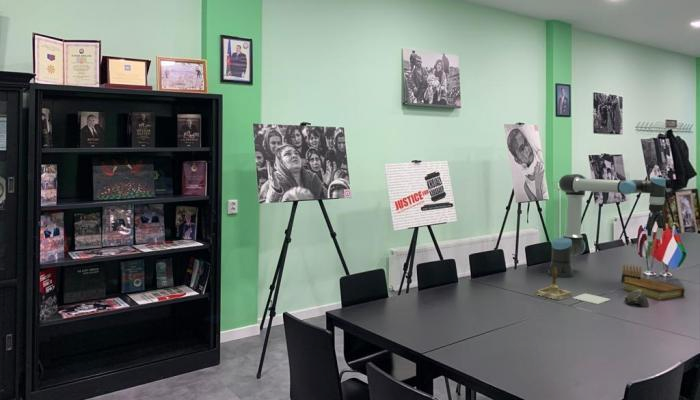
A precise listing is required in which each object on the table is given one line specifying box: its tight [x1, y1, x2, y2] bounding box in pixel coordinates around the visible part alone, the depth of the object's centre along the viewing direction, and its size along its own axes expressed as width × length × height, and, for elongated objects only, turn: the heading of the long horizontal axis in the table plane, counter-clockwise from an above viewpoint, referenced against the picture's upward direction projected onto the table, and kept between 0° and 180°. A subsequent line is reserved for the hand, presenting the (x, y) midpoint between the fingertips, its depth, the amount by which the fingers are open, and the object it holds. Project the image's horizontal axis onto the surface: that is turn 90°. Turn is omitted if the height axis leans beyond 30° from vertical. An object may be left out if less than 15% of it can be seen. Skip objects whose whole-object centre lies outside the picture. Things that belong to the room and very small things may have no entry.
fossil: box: [623, 289, 649, 308], centre depth 263 cm, size 11×9×10 cm
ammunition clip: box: [620, 262, 642, 284], centre depth 305 cm, size 11×2×12 cm, turn 45°
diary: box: [622, 278, 686, 301], centre depth 284 cm, size 23×19×6 cm
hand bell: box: [547, 267, 560, 295], centre depth 277 cm, size 8×8×16 cm
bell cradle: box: [535, 286, 573, 301], centre depth 278 cm, size 13×13×2 cm
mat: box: [572, 293, 612, 305], centre depth 271 cm, size 14×14×1 cm
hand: (654, 240), depth 295 cm, fingers open, 13 cm apart
